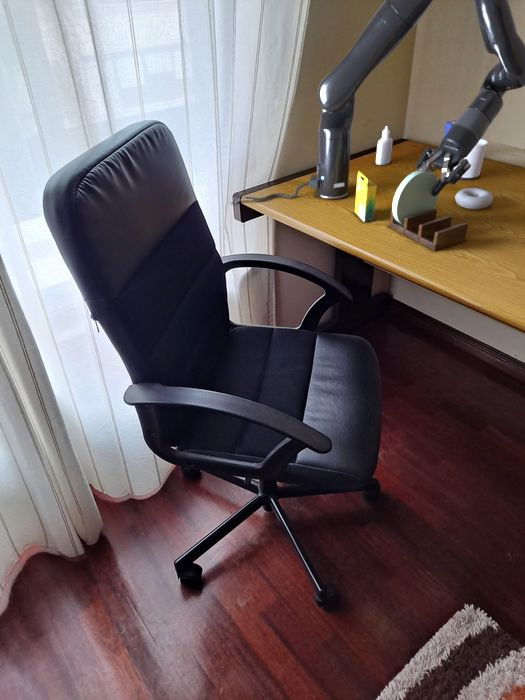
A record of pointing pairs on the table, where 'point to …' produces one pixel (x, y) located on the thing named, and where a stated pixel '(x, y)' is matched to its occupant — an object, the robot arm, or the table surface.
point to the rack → (431, 229)
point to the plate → (414, 195)
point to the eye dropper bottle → (384, 148)
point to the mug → (475, 160)
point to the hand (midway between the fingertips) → (422, 190)
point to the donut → (474, 198)
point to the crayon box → (365, 198)
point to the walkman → (448, 126)
